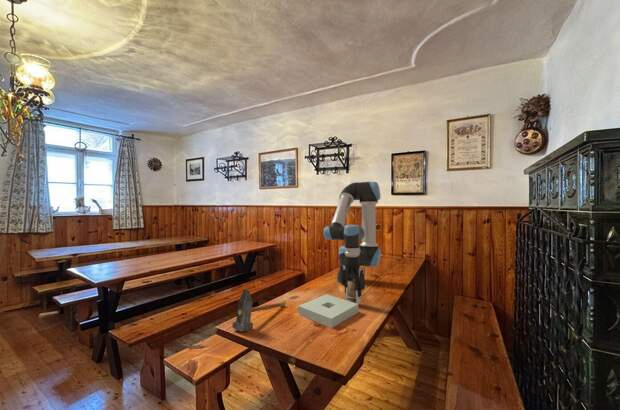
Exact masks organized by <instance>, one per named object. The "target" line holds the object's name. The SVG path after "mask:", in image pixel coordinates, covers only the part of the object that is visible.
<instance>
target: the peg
mask: <svg viewBox="0 0 620 410" xmlns="http://www.w3.org/2000/svg"><path fill="white" fill-rule="evenodd" d="M356 290H357V287H356V283H355V280H348V298H349V300H348V301H350V302H353V303H356Z"/></svg>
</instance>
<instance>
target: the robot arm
mask: <svg viewBox="0 0 620 410" xmlns="http://www.w3.org/2000/svg"><path fill="white" fill-rule="evenodd" d="M380 199H381V190H380V185H379V183H378V182H376V181H361V182H360V181H359V182H358V181H357V182H352V183H351V182H350V184H348V185H346V186H345V187H344V188H343V190H342V191H341V192H340V194H339V197H338V203H337V206H336V210H335V212H334V215H333V217H332V219H331V223H330V225H327V226H325V227H324V228H323V237H324V239H326V240H327V241H328V240H329V241H344V245H341V246H339V248H338V260H339V261H338V268H339V269H338V271H337V272H338V273H337V276H336V281H337V282H338V283H341V286H344V294H345V298H346V299H345V300H347V301H349V298H348V280H355V283H356V287H357V290H356V303H357V304H358V305H359V304H360V303H361V297H362V291H363V290H365V289H366V281H365V280H366V279H365V274H366V269H364V268H361V267H370V268H373V267H375V268H376V267H378V266H379V265H380V261H381V256H382V249H381V247H380V248H379V245H378V244H377V240H376V238H377V237H376V232H377V231H376V224H377V223H376V205H377V204H378V203H379V200H380ZM354 201H359V202H358V203H359V204H360V205H361V226H359V225H357V224H346V225H345V223H346V220H347V216H348V214H349V211H350V208H351V205H352V204H353V203H354ZM360 241H361V243H360Z"/></svg>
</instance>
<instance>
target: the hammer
mask: <svg viewBox="0 0 620 410" xmlns="http://www.w3.org/2000/svg"><path fill="white" fill-rule="evenodd" d="M253 301H254V300H253V299H252V295H251V292H250V289H246V288H244V289H243V291H242V293H241V295H240V297H239V299H238V304H237V305H238V307H237V313H236V319H235V321H233V322H232V329H234V330H237V331H240V332H246V331H249V330H251V329H253V328H254V327H253V326H254V323H253V322H252V321H251V320H252V319H251V318H252V313H255V312H260V311H265V310H266V311H267V310H270V309H275V308H278V307H280V308H283V307H285V306H286V304H287V303H286V302H285V301H286V300H285V301H283V300H282V301H280V302H277V303H273V304H271V303H270V304H265V305H261V306H255V307H253Z"/></svg>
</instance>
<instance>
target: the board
mask: <svg viewBox="0 0 620 410" xmlns="http://www.w3.org/2000/svg"><path fill="white" fill-rule="evenodd" d="M297 307H298V309H297V310H298V315H299V316H301V317H304V318H306V319H309V320H311V321H313V322H315V323H318V324H321V325H323V326H326V327H328V328H330V329H332V328H334V327H336V326H338V325H339V324H342V323H343V322H344V321H346V320H348V319H350V318H352V317H353V316H355V315H357V314H358V313H359V303H358V304H357V303H353V302H350V301H349V300H348V301H347V300H346V299H343V298H340V297H336V296H334V295H331V294H326V293H325V294H323V295H321V296H318V297H316V298H314V299H311V300H309V301H307V302H306V301H305V303H302V304H299V305H298V306H297Z"/></svg>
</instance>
